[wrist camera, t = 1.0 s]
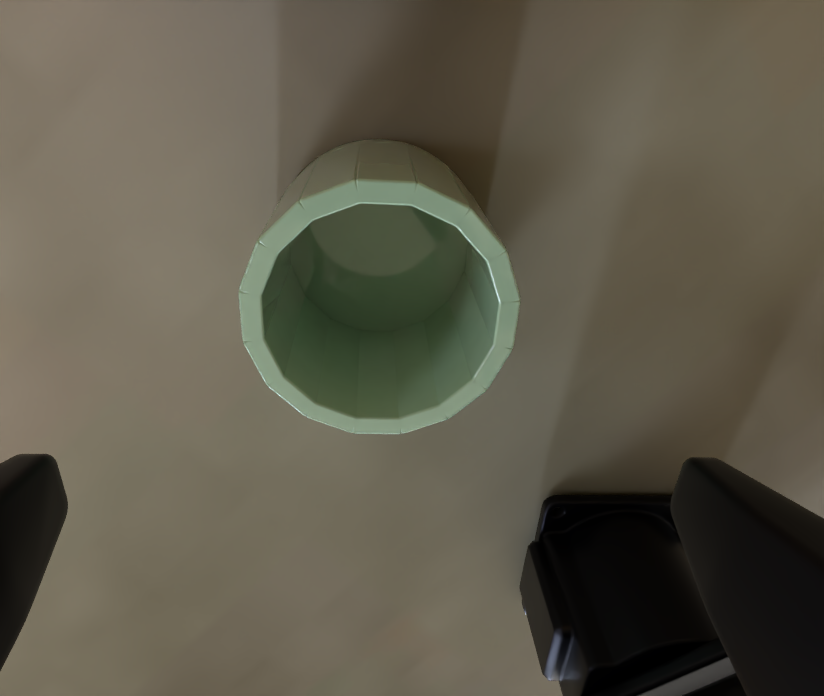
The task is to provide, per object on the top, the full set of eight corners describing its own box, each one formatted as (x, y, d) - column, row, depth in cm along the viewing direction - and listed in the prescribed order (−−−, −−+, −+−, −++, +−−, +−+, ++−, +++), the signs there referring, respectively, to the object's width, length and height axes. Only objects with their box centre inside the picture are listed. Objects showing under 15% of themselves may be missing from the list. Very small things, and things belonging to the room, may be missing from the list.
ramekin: (491, 144, 17) (539, 187, 12) (468, 337, 20) (500, 436, 15) (271, 132, 16) (227, 172, 11) (280, 332, 19) (249, 433, 14)
